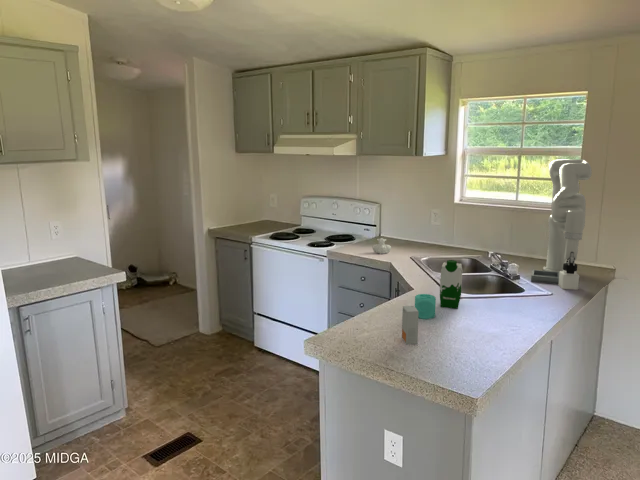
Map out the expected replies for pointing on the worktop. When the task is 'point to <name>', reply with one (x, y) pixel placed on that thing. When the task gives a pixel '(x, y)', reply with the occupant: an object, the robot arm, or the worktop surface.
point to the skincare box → (410, 325)
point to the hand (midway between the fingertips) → (569, 271)
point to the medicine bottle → (568, 278)
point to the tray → (545, 276)
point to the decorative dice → (425, 306)
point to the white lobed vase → (381, 247)
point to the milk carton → (450, 284)
